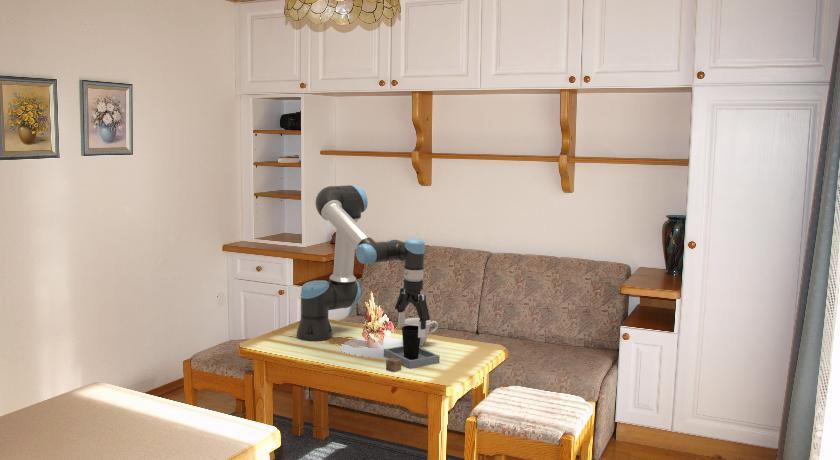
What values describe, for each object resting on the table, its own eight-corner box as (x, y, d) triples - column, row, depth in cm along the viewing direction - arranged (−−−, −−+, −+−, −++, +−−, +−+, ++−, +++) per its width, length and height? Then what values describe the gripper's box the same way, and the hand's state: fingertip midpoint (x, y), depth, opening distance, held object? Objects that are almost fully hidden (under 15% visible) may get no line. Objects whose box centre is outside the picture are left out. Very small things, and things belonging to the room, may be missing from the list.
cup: (418, 361, 296) (419, 331, 295) (399, 359, 298) (399, 329, 296) (422, 355, 304) (423, 326, 302) (403, 354, 305) (404, 324, 304)
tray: (383, 356, 304) (383, 349, 303) (412, 350, 312) (412, 344, 312) (409, 368, 289) (409, 361, 289) (439, 362, 298) (439, 355, 297)
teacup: (440, 347, 317) (441, 324, 316) (405, 349, 314) (406, 325, 312) (433, 339, 329) (434, 316, 328) (399, 341, 325) (400, 318, 324)
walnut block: (386, 370, 287) (386, 359, 286) (392, 367, 290) (392, 357, 290) (394, 372, 285) (394, 362, 284) (401, 369, 288) (401, 359, 287)
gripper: (387, 273, 304) (385, 325, 307) (424, 287, 284) (422, 342, 287) (403, 272, 308) (401, 323, 312) (440, 285, 288) (438, 339, 292)
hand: (411, 332), depth 300 cm, fingers open, 13 cm apart
